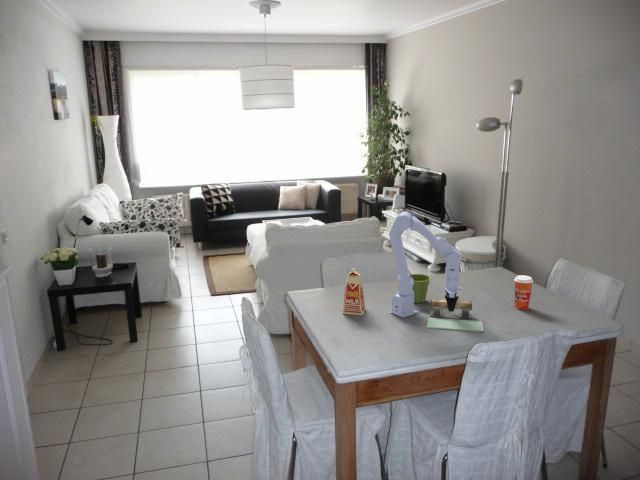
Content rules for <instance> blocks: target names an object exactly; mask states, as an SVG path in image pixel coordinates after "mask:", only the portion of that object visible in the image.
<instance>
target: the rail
mask: <svg viewBox="0 0 640 480" xmlns="http://www.w3.org/2000/svg"><path fill="white" fill-rule="evenodd" d="M433 305H438V306H440V309H447V310H448V305H447V301H446V299H433V298H431V299H430V308H431V309H433ZM462 307H470V310H469V311H472V310H473V301H469V300H468V301H467V300H466V301H465V300H457V302H456V305H455V309H454V310H461V311H462Z"/></svg>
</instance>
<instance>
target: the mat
mask: <svg viewBox="0 0 640 480" xmlns="http://www.w3.org/2000/svg"><path fill="white" fill-rule="evenodd" d="M426 328H427V329H432V330H449V331H460V332H463V331H464V332H475V333H476V332H477V333H484V332H485V331H484V323H483V321H482V320H472V319H456V318H455V319H454V318H442V317H427V325H426Z"/></svg>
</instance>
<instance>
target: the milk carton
mask: <svg viewBox="0 0 640 480" xmlns="http://www.w3.org/2000/svg"><path fill="white" fill-rule="evenodd" d="M345 280H346V281H345V286H344V298H343V306H342V313H341V314H342V315H343V314H344V315H355V316H364V313H365V310H366V303H365V296H364V287H363V282H362V281H363V280H362V275H361V274H360V273H359V272H357V271H356V270H355V268H354V267H352V270H351V272H349V273H348V274H347V276H346V279H345Z"/></svg>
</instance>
